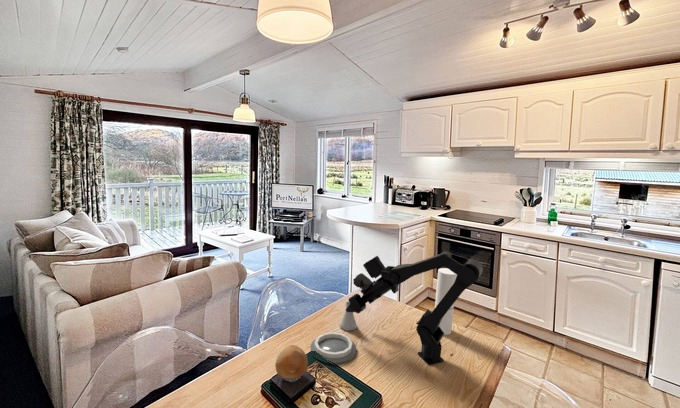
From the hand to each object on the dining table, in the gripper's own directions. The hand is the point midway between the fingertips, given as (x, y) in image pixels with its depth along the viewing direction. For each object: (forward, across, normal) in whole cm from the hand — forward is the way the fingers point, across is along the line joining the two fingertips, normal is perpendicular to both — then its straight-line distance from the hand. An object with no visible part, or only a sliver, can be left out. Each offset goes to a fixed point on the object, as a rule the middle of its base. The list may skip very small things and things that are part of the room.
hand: (352, 306), depth 123 cm
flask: (+8, 0, +6) cm, 9 cm away
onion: (+6, +36, +7) cm, 37 cm away
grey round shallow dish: (+5, +17, +8) cm, 19 cm away
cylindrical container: (-15, -21, +28) cm, 38 cm away
